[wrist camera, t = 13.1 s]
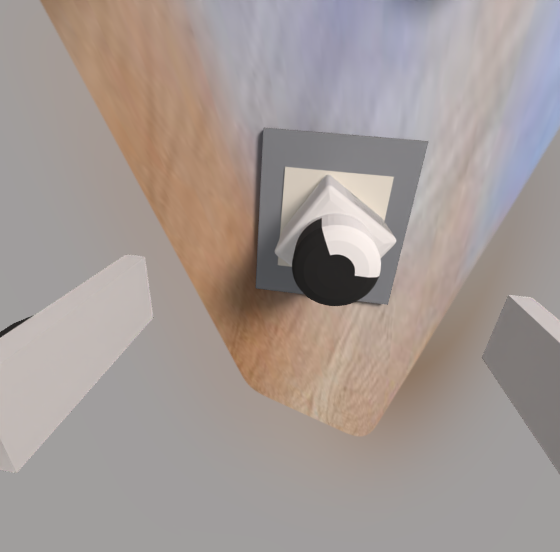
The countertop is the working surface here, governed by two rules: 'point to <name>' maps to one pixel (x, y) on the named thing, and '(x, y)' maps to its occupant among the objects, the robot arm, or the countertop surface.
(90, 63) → the countertop surface
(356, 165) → the board
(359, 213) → the container
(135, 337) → the robot arm
